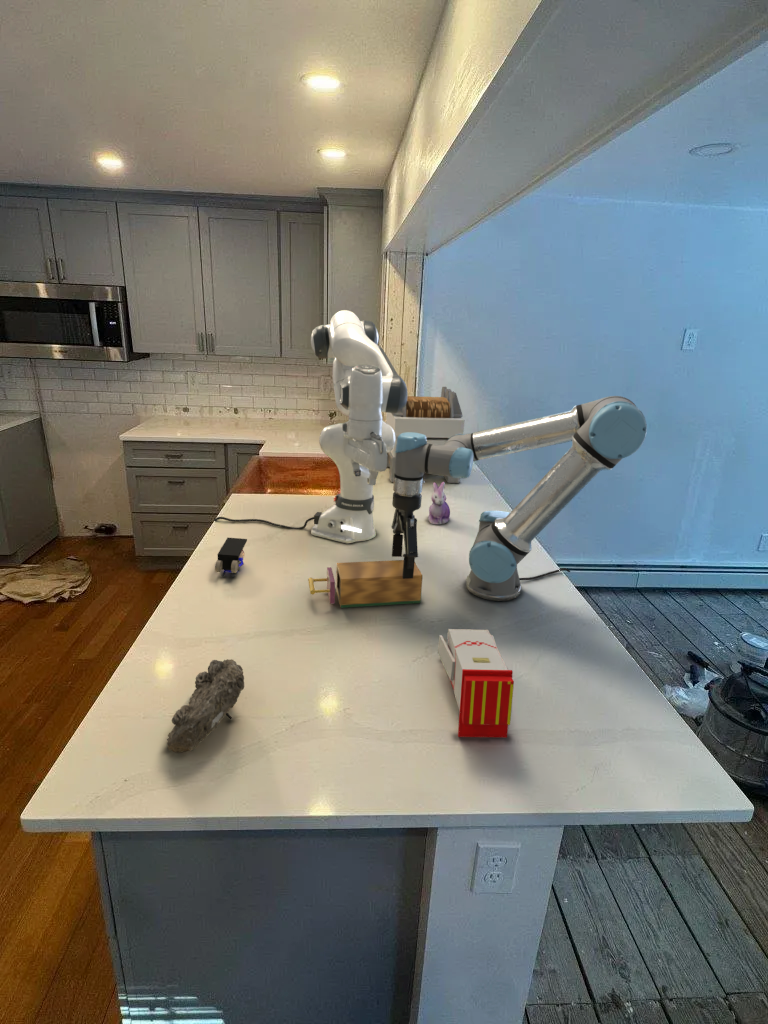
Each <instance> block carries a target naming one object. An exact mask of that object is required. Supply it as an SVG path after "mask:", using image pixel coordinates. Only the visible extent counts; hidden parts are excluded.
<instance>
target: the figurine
mask: <svg viewBox="0 0 768 1024" xmlns="http://www.w3.org/2000/svg"><path fill="white" fill-rule="evenodd" d="M445 486H446V485H445V481H442V482H441V483H440V484H439V486H438V483H436V482H432V491H433V492H432V494H431V498H430V499H431V502H432V503H431V505H429V507H428V517H427V518H428V519H427V520H428V521H429V523H430V524H433V525H442V524H447V523H448V522H449V520H450V516H451V509H450V506H449V504H448V503H447V496H446V494H445V491H444V489H445Z"/></svg>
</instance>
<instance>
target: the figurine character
mask: <svg viewBox="0 0 768 1024" xmlns="http://www.w3.org/2000/svg"><path fill="white" fill-rule="evenodd" d="M247 542H248V538H240V537H226V539H225V541H224V543H223V544H222V546H221V547H220V549H219V551H218V552H217V560H216V562H215V564H214V572H215V573H221V577H222V578H224V577H225V576H226V574H227V573H230V574H231V573H232V574H231V578H234V577H235V575H236V573H237V572H239V571H240V567H242V566H243V565H244V564H245V562H244V558H245V551H244V547H245V546H246V544H247Z"/></svg>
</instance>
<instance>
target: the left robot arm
mask: <svg viewBox="0 0 768 1024" xmlns="http://www.w3.org/2000/svg"><path fill="white" fill-rule="evenodd" d="M311 331H312V332H311V334H310V335H311V336H310V346H311V350H312V351H313V353H314V355H315V356H316V357H317V358H318V359H324V360H325V359H326V360H327V359H333V361H332V387H333V392H334V400H335V406H336V409H337V410H338V412H339V413H340V414H341V415H343V416H346V417H347V418H348V420H347V421H345V422H342V423H334V424H329V425H327V426H324V427H323V428H322V430H321V431H320V434H319V438H318V442H319V447H320V449H321V451H322V452H323V454H324V455H326V456H327V457H328V458H330V459H331V460H332V462H333V463H334V464H335V465H336V467H337V470H338V473H339V483H340V484H339V485H340V488H339V489H340V490H339V491H338V492H337V494H336V495H335V496H334V497H333V502H334V504H333V505H331V506H329V507H328V508H326V509H325V510H323V512H322V511H316V512H315V514H314V515H313V516H312V517H309V518H307V519H306V520H305V522H304V523H303V526H299V527H292V526H288V525H284V524H280V523H275V522H272V521H269V520H265V519H260V518H259V519H258V518H245V519H233V518H232V519H231V518H228V517H225V516H218V517H215V518H214V519H213V520H212V521H213V522H217V521H218V520H224V521H227V522H232V523H244V522H260V523H264V524H268V525H271V526H274V527H278V528H284V529H287V530H289V529H290V530H303V529H305V528H306V527H307V526H308V525H307V524H308V523H309V522H311V521H313V526H312V528H311V530H310V533H311V536H315V537H319V538H323V539H326V540H330V541H336V542H339V543H343V544H352V543H357V542H365V541H368V540H372V539H373V538H375V537H376V535H377V532H376V528H375V523H374V513H373V512H374V509H375V496H374V486H376V485H377V477H378V475H379V473H381V472H385V471H386V470H387V469H388V467H387V453H388V452H391V450H392V449H393V448H394V445H395V442H396V435H395V432H394V430H393V428H392V427H391V426H390V425H389V424H387V423H386V421H384V420H383V414H382V413H386V412H387V413H397V412H398V411H400V410H401V409H402V408H403V407H404V406H405V405H406V403H407V397H408V396H409V395H408V393H409V392H408V386H407V384H406V381H404V379H403V378H402V377H401V376H400V375H399V374H398V372H397V370H396V369H395V367H394V365H393V364H392V362H391V360H390V359H389V357H388V355H387V353H386V351H385V350H384V349H383V347H382V346H380V345H379V341H380V340H379V338H380V337H379V331H378V329H377V327H376V324H375V323H374V322H373V321H371V320H365V319H363V320H360V319H359V317H358V315H357V314H355V313H354V312H353V311H351V310H348V309H343V310H339V311H337V312H335V313H334V315H332V317H331V319H330V321H329V324H320V325H318V326H315V327H314V329H312V330H311Z"/></svg>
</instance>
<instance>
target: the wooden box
mask: <svg viewBox="0 0 768 1024" xmlns="http://www.w3.org/2000/svg"><path fill="white" fill-rule="evenodd" d="M403 563H404V559H396V560H395V559H394V560H373V561H370V560H369V561H350V562H349V561H348V562H336V570H337V569H338V573H339V576H340V580H341V588H340V599H339V595H338V591H337V576H336V578H335V579H336V581H335V592H336V595H337V600H338V603H339V607H340V608H341V609H343V608H359V607H360V608H361V607H375V606H391V605H409V604H421V603H422V586H423V573H422V571H421V570H420V568H419V566H418V565H417V563H416V561H414V573H413V578H410V579H403V578H402V576H403Z"/></svg>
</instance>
